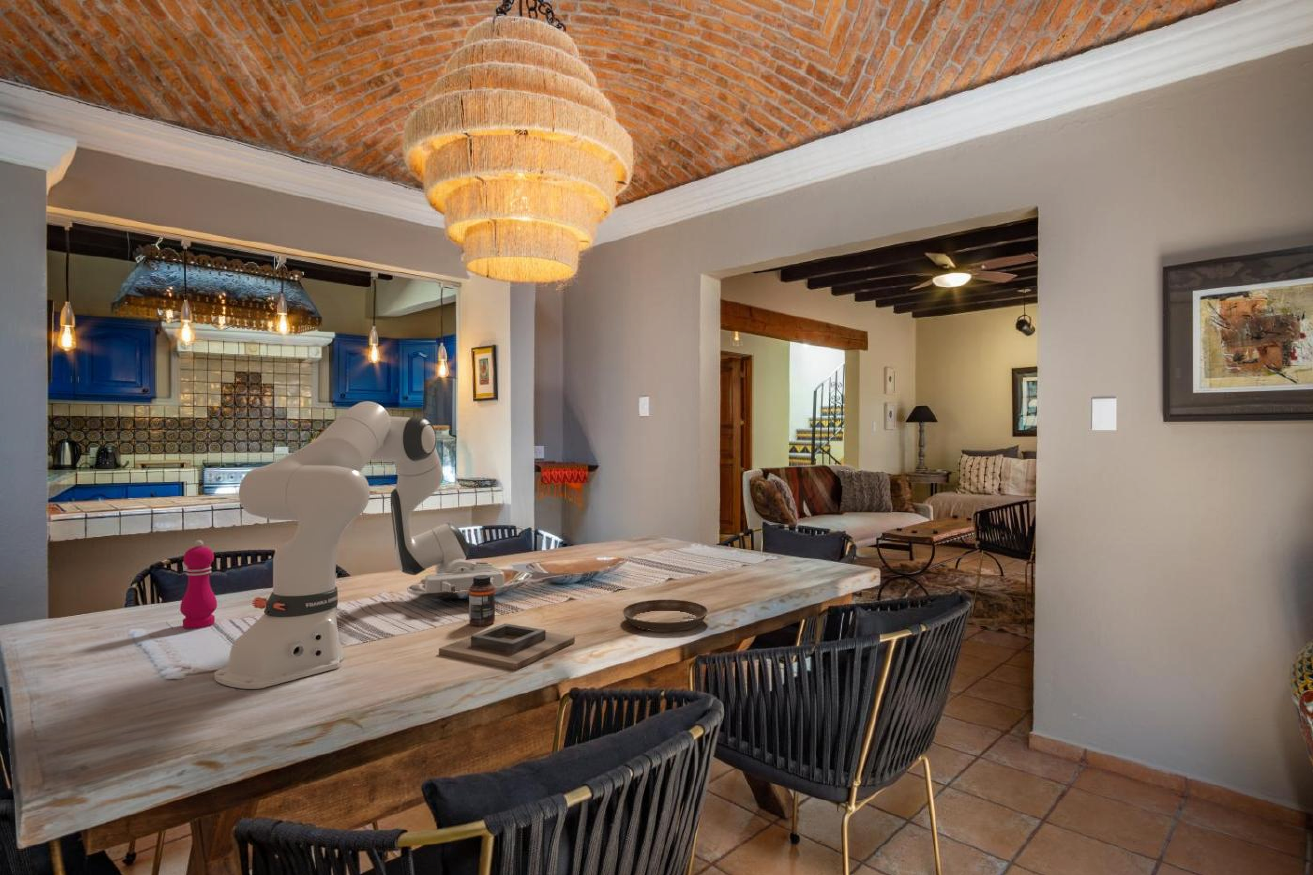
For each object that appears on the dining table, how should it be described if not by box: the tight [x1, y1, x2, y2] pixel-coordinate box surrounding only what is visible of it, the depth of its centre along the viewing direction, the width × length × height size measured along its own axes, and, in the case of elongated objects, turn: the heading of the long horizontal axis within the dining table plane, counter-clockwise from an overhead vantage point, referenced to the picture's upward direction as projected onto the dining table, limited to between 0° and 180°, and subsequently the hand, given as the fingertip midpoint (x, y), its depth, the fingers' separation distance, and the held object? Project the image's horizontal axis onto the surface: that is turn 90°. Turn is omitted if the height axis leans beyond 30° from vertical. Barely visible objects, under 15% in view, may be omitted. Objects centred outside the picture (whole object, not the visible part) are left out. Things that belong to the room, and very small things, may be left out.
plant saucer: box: [622, 599, 709, 633], centre depth 168 cm, size 21×21×3 cm
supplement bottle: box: [468, 575, 496, 627], centre depth 166 cm, size 6×6×11 cm
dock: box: [438, 623, 576, 671], centre depth 147 cm, size 20×20×3 cm
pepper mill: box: [179, 539, 218, 629], centre depth 163 cm, size 7×7×20 cm
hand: (471, 586), depth 176 cm, fingers open, 8 cm apart
